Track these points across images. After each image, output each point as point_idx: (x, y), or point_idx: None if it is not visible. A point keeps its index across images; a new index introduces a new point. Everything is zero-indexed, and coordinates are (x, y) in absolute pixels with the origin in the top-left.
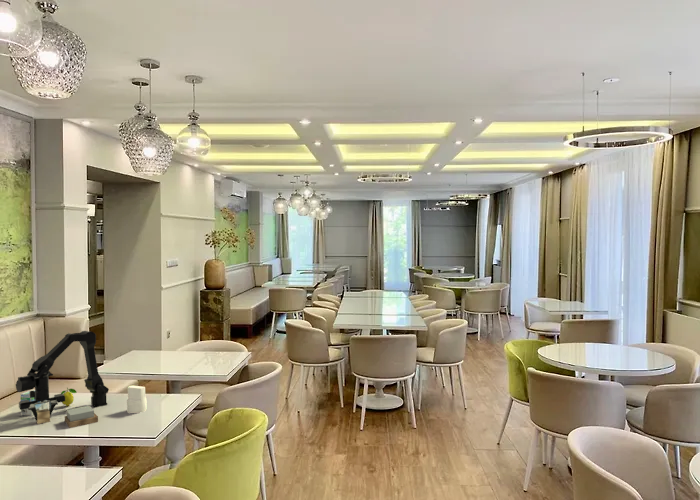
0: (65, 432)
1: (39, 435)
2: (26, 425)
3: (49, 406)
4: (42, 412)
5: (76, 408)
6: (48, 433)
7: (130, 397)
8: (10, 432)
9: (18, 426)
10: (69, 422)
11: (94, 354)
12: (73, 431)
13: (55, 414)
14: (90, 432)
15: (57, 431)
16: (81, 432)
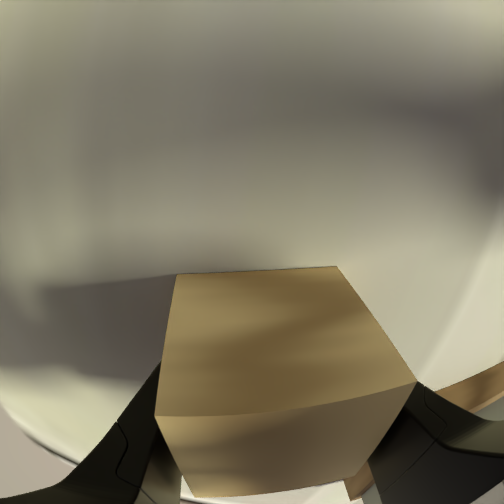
0: (305, 500)
1: (202, 501)
2: (81, 352)
3: (429, 459)
4: (263, 493)
5: None
6: (243, 499)
7: None
8: (22, 410)
9: (16, 328)
10: (353, 499)
11: None
12: (332, 497)
13: (449, 126)
14: (361, 500)
15: (284, 494)
16: (344, 500)
